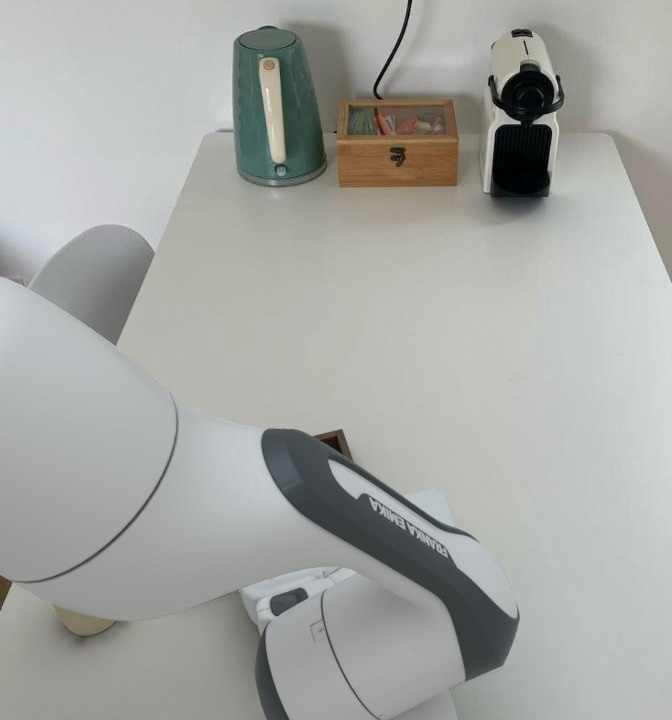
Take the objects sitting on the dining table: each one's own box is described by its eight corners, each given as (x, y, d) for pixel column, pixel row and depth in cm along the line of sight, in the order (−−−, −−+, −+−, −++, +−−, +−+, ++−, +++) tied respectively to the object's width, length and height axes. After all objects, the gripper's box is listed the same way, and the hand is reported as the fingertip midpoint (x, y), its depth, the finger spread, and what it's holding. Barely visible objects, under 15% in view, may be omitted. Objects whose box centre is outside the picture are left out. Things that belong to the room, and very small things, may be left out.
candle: (122, 575, 78) (91, 512, 71) (126, 625, 74) (94, 563, 67) (63, 593, 76) (25, 530, 70) (64, 644, 72) (24, 583, 66)
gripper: (481, 553, 68) (429, 436, 78) (238, 623, 64) (215, 490, 74) (479, 594, 72) (430, 478, 82) (251, 662, 68) (228, 531, 78)
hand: (327, 484), depth 78 cm, fingers open, 4 cm apart
